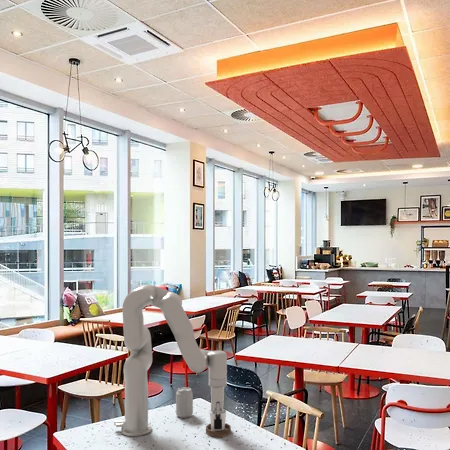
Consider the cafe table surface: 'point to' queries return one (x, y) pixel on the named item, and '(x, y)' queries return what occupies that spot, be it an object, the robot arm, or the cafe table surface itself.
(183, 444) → the cafe table surface
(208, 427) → the round bowl
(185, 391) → the can
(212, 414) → the white tapered cylinder
